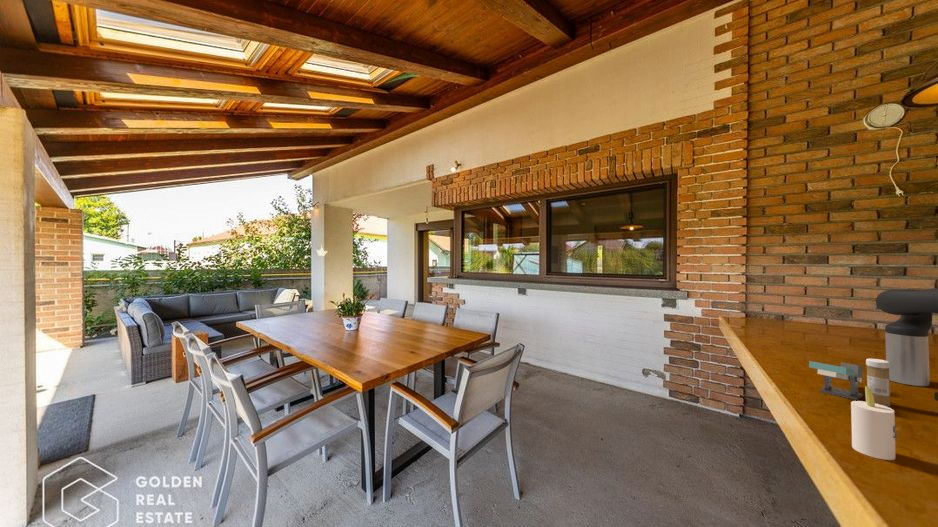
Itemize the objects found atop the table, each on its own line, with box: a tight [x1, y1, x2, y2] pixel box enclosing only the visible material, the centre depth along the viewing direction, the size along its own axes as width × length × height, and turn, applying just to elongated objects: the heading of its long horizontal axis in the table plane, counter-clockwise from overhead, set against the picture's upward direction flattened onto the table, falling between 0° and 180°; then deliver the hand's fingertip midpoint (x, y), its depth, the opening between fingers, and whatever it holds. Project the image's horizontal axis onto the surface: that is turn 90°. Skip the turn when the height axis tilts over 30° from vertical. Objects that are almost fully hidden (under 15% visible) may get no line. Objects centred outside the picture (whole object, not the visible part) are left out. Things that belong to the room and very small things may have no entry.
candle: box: [850, 385, 898, 461], centre depth 75 cm, size 6×6×15 cm
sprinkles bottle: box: [865, 358, 891, 407], centre depth 100 cm, size 5×5×14 cm
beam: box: [808, 360, 864, 383], centre depth 107 cm, size 26×8×6 cm, turn 118°
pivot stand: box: [819, 373, 864, 401], centre depth 107 cm, size 6×8×8 cm
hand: (937, 392), depth 90 cm, fingers open, 8 cm apart
